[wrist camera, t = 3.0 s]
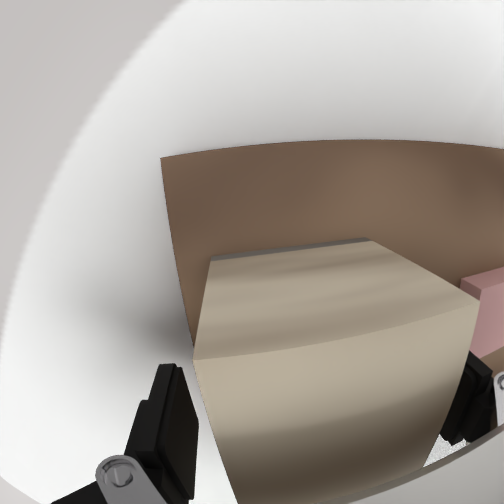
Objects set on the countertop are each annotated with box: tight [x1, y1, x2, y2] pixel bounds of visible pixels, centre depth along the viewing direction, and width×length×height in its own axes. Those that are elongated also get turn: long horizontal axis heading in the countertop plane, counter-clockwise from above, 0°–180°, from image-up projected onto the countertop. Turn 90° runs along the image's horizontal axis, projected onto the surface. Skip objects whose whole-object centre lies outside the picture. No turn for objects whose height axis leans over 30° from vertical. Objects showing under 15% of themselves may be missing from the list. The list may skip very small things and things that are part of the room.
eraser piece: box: [460, 267, 504, 359], centre depth 11 cm, size 4×4×2 cm
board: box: [160, 140, 504, 378], centre depth 13 cm, size 16×22×2 cm
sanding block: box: [192, 237, 480, 504], centre depth 9 cm, size 9×6×6 cm, turn 7°
